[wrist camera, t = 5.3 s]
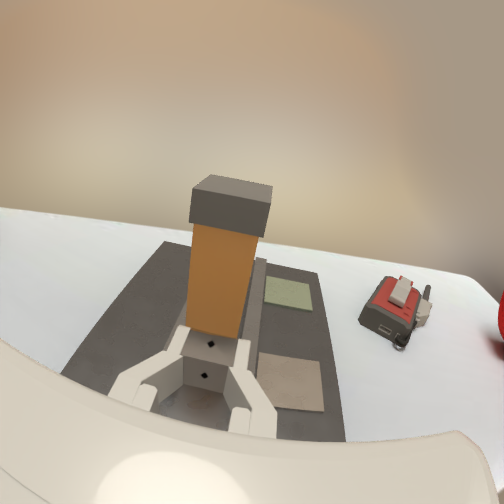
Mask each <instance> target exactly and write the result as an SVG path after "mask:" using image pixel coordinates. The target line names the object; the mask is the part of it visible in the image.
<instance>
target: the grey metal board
mask: <svg viewBox="0 0 504 504" xmlns="http://www.w3.org/2000/svg"><path fill="white" fill-rule="evenodd" d="M190 257H191V247H190V246H185V245H180V244H176V243H171V242H166V241H164V242H163V243H162V245H161V246H160V247H159V248H158V249H157V250H156V251H155V253H154V254H153V255H152V256H151V257H150V258H149V259H148V261H147V262H146V263H145V264H144V265H143V266H142V268H141V269H140V270H139V271H138V272H137V273H136V275H135V276H134V277H133V278H132V279H131V281H130V282H129V283H128V284H127V286H126V287H125V288H124V289H123V290H122V292H121V293H120V294H119V295H118V297H117V298H116V299H115V300H114V302H113V303H112V304H111V305H110V307H109V308H108V309H107V310H106V312H105V313H104V314H103V316H102V317H101V318H100V319H99V321H98V322H97V323H96V325H95V326H94V327H93V329H92V330H91V331H90V333H89V334H88V335H87V337H86V338H85V339H84V341H83V342H82V343H81V345H80V346H79V348H78V349H77V350H76V352H75V353H74V355H73V356H72V357H71V359H70V360H69V362H68V363H67V364H66V366H65V367H64V369H63V370H62V372H61V373H60V374H61V375H63V376H65V377H67V378H69V379H71V380H73V381H75V382H77V383H79V384H81V385H83V386H85V387H88V388H90V389H92V390H94V391H97V392H99V393H101V394H104V395H106V396H108V394H109V392H110V390H111V388H112V386H113V385H114V383H115V381H116V379H117V377H118V375H119V374H120V373H122V372H124V371H125V370H127V369H129V368H131V367H133V366H135V365H137V364H139V363H141V362H143V361H144V360H146V359H148V358H150V357H152V356H154V355H156V354H157V353H159V352H161V351H167V349H168V347H169V345H170V342H171V340H172V338H173V336H174V334H175V331H176V329H177V327H178V326H179V325H183V326H186V309H187V294H188V281H189V269H190ZM266 260H267V259H263V258H258V257H256V260H254V261H253V266H252V270H251V275H250V280H249V284H248V289H247V294H246V298H245V303H244V307H243V312H242V317H241V321H240V326H239V330H238V335H237V338H238V339H244V340H250V341H251V345H250V353H249V360H248V367H247V370H249V371H251V372H252V374H253V376H254V377H255V379H256V380H257V382H258V383H259V385H260V387H261V388H262V390H263V391H264V393H265V394H266V396H267V398H268V399H269V401H270V402H271V404H272V405H273V407H274V408H275V410H276V411H277V431H276V439H284V440H296V441H312V442H346V439H345V430H344V422H343V415H342V407H341V400H340V393H339V386H338V380H337V374H336V367H335V361H334V356H333V350H332V344H331V339H330V333H329V328H328V323H327V317H326V312H325V307H324V302H323V298H322V293H321V288H320V283H319V279H318V274H317V273H314V272H309V271H304V270H299V269H295V268H290V267H285V266H280V265H275V264H270V263H266ZM159 407H160V414H161V415H162V416H165V417H169V418H172V419H176V420H180V421H183V422H187V423H191V424H195V425H199V426H204V427H208V428H213V429H217V430H222V431H226V429H227V426H228V423H229V419H230V416H231V411H230V409H229V407H228V405H227V402H226V400H225V398H224V395H223V393H219V392H215V391H211V390H207V389H203V388H199V387H194V386H190V385H186V384H183V385H182V386H181V387H180V388H178V389H177V390H176V391H175V392H173V393H172V394H171V395H169V396H168V397H167V398H165V399H164V400H163V401H162V402H160V403H159Z"/></svg>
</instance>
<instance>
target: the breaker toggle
mask: <svg viewBox="0 0 504 504" xmlns="http://www.w3.org/2000/svg"><path fill="white" fill-rule="evenodd" d="M271 196H272V186H268V185H264V184H259V183H254V182H249V181H244V180H239V179H233V178H228V177H223V176H216V175H209V176H208V177H207V178H205V179H204V180H203V181H201V182H200V183H199V184H197V185H196V186H195V187H194V188H193V189H192V197H191V206H190V215H189V223H194V228H193V237H192V247H191V257H190V269H189V281H188V294H187V309H186V327H190V328H195V329H198V330H202V331H206V332H210V333H214V334H219V335H224V336H229V337H234V338H237V335H238V330H239V326H240V321H241V317H242V312H243V307H244V303H245V298H246V294H247V289H248V284H249V280H250V275H251V270H252V266H253V261H254V257H255V252H256V247H257V243H258V238H259V237H262V238H263V237H264V232H265V228H266V223H267V218H268V214H269V209H270V205H271Z"/></svg>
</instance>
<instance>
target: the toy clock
mask: <svg viewBox="0 0 504 504" xmlns="http://www.w3.org/2000/svg"><path fill="white" fill-rule="evenodd" d="M498 327H499V330H500V334H501V336H502V337H503V339H504V292H503V295H502V298H501V301H500V306H499V312H498Z"/></svg>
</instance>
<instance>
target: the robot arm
mask: <svg viewBox="0 0 504 504" xmlns="http://www.w3.org/2000/svg"><path fill="white" fill-rule="evenodd" d="M250 345H251V341H250V340H244V339H238V338H234V337H229V336H224V335H219V334H214V333H210V332H206V331H202V330H198V329H195V328H190V327H186V326H183V325H179V326H178V327H177V329H176V331H175V334H174V336H173V338H172V340H171V342H170V345H169V347H168V349H167V351H161V352H159V353H157V354H156V355H154V356H152V357H150V358H148V359H146V360H144V361H143V362H141V363H139V364H137V365H135V366H133V367H131V368H129V369H127V370H125V371H124V372H122V373H120V374H119V375H118V377H117V379H116V381H115V383H114V385H113V386H112V388H111V390H110V392H109V394H108V396H106V395H104V394H101V393H99V392H97V391H94V390H92V389H90V388H88V387H85V386H83V385H81V384H79V383H77V382H75V381H73V380H71V379H69V378H67V377H65V376H63V375H61V374H59V373H57V372H55V371H53V370H51V369H49V368H48V367H46V366H44V365H42V364H40V363H39V362H37V361H35V360H34V359H32V358H30V357H29V356H27V355H25V354H24V353H22V352H20V351H19V350H17V349H16V348H14V347H13V346H11V345H10V344H8V343H7V342H5V341H4V340H2V339H1V338H0V504H499V499H498V494H497V491H496V487H495V484H494V480H493V477H492V474H491V471H490V468H489V465H488V462H487V460H486V458H485V455H484V453H483V452H482V450H481V448H480V447H479V446H478V445H477V444H475V443H474V442H473V441H472V440H471V439H469V438H468V437H467V436H466V435H465V434H463V433H462V432H460V431H449V432H444V433H439V434H434V435H428V436H421V437H414V438H406V439H397V440H385V441H370V442H312V441H296V440H284V439H276V431H277V411H276V410H275V408H274V407H273V405H272V404H271V402H270V401H269V399H268V398H267V396H266V394H265V393H264V391H263V390H262V388H261V387H260V385H259V383H258V382H257V380H256V379H255V377H254V376H253V374H252V372H251V371H249V370H247V367H248V360H249V353H250ZM183 384H186V385H190V386H194V387H199V388H203V389H207V390H211V391H215V392H219V393H223V395H224V398H225V400H226V402H227V405H228V407H229V409H230V411H231V416H230V419H229V423H228V426H227V429H226V431H222V430H217V429H213V428H208V427H204V426H199V425H195V424H191V423H187V422H183V421H180V420H176V419H172V418H169V417H165V416H162V415H161V414H160V407H159V403H160V402H162V401H163V400H164V399H165V398H167V397H168V396H169V395H171V394H172V393H173V392H175V391H176V390H177V389H178V388H180V387H181V386H182V385H183Z"/></svg>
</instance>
